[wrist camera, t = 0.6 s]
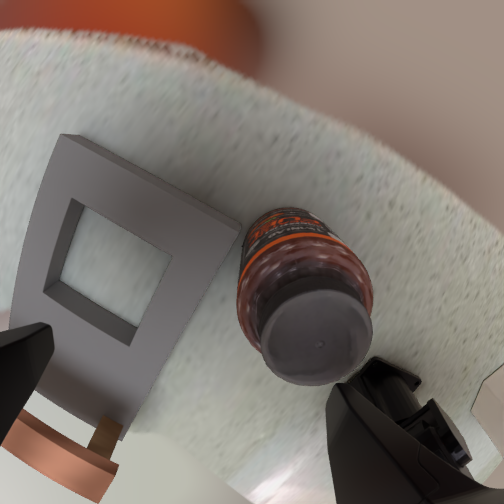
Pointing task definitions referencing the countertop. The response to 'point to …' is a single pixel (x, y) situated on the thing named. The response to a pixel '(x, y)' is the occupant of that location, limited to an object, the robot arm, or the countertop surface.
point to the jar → (492, 408)
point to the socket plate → (90, 314)
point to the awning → (66, 454)
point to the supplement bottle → (303, 298)
